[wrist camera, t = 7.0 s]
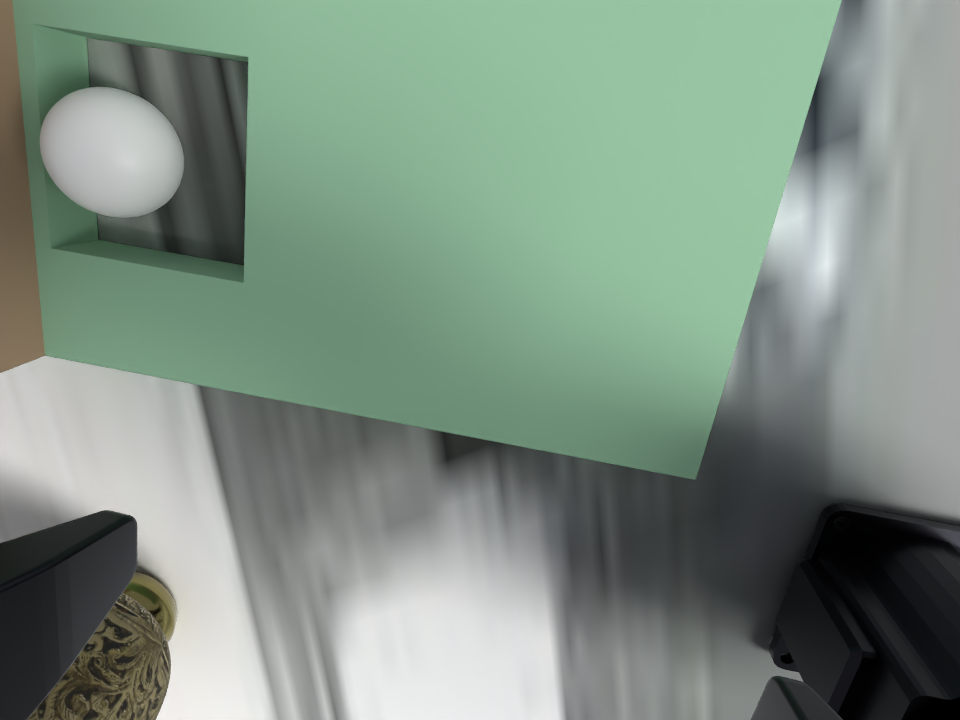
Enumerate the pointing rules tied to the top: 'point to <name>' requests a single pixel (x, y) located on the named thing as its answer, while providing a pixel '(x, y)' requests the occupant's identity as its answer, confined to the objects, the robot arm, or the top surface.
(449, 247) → the green slab with hole
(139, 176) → the ball
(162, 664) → the cup
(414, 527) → the top surface
